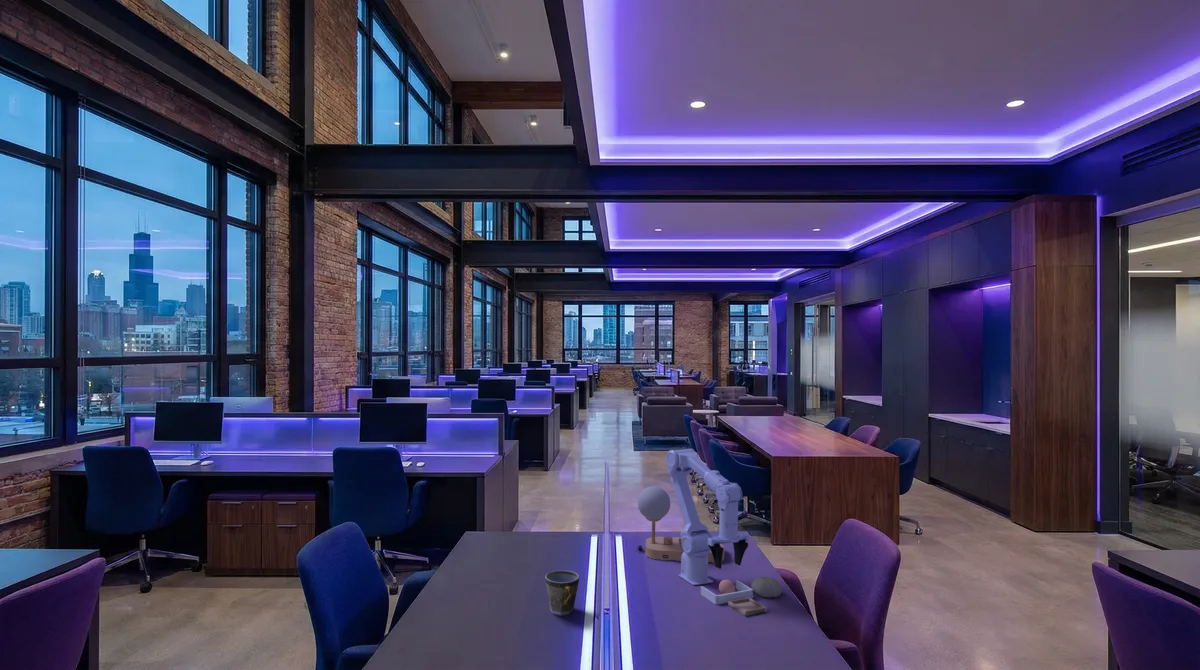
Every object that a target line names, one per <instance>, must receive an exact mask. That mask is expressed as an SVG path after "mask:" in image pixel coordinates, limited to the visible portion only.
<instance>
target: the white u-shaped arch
mask: <svg viewBox="0 0 1200 670" xmlns="http://www.w3.org/2000/svg"><path fill="white" fill-rule="evenodd" d="M735 590H737V591H735V592H733V593H727V594H715V593H714V592H712V591H711V590H710V589H708V588H706V587H705V586H703V585H702V586H700V595H701V596H702V597H704V598H705V599H707V600H708V601H710V602H711V603H713V604H715V605H723V604H726V603H727V604H728V601H733V600H738V599H744V598H751V599H754V598H755V595H754V594H755V593H754V590H753V589H752V588H751V586H750V587H749V586H748V585H746V584H744V583H743V582H741V581H739V580H738V579H737V580H735Z"/></svg>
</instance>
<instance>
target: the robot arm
mask: <svg viewBox="0 0 1200 670" xmlns="http://www.w3.org/2000/svg"><path fill="white" fill-rule="evenodd" d="M664 461H665V464H666V468H667V471H668V474H669V475H668V476H669V477H670V481H671V484H672V485H671V486H672V488H673V491H674V494H675V497H676V500H677V501H676V502H677V503H678V507H679V510H680V514H681V518H682V521H683V523H684V527H683V529H682V531H680V535H679V536H680V538H681V539H682V548H683V550H684V552H683V554H682V557H681V561H680V573H678V577H680V579H681V578H682V580H684V581H686V582H688V583H689V584H690V585H692V586H700V585H706V584H712V583H714V580H713V579H711V578H709V563H708V554H710V550H711V552H712V555H713V558H714V562H715V563H714V566H715V568H718V569H722V566H723V565H722V564H723V563H722V562H723V561H722V554H723V550H724V551H725V547H724V548H722V547H721V545H720V544H723V545H725V544H730V543H732V545H733V551H734V552H733V553H734V554H733V555H734V556H733V557H734V564H736V565H737V566H741V564H742V561H743V557H744V555H745V553H746V550H747V549H748V547H749V542H748V541H749V540H750V539H749V534H747V533H738V531H739V529H738V527H739V502H740V501H741V500H742V497H743V491H742V488H741V486H740V485H739V484H738V483H737V482H730V481H729V480H728V479H726V478H725V477H724V476H723V475H722V474H721V473H720V471H719V470H714V469H713V470H711V469H710V468H709V467H708V466H707V464H705V463H704V461H702V459H700V458H699V454H698V452H696V450H695V449H693V448H688V449H686V448H685V449H671V450H669V451H667V454H666V456H665V459H664ZM692 470H693V471H694V472H695V473H696V474H698V475H699V476H700V477H702V478H703V483H704V485H706V486H707V487H708V488H709V490H711V491H712V492H713V493H714V494H715V497H716V500H717V505H718V508H719V523H718V525H719V526H718V527H719V530H718V532H719V533H718V535H715V536H712V534H711V532H710V531H709V528H708V526H706V525H705V524H704V523H702V522H701V520H700V518H699V517H700V516H699V514H698V512H697V509H696V508H697V507H696V505H695V502H694V498H693V495H692V491H691V489H690V486H689V481H688V479H687V477H688V475H690V474H691V473H692Z"/></svg>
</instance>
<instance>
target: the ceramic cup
mask: <svg viewBox="0 0 1200 670" xmlns="http://www.w3.org/2000/svg"><path fill="white" fill-rule="evenodd" d="M544 577H545V585H546V586H545V587H546V591H547V597H548V606H549V610H550V611H551V613H552V614H553V615H555V616H568V615H570V614H571V613H573V611H574V607H575V602H576V598H577V593H578V589H579V582H580V575H579V574H578V573H577V572H576V571H572V570H567V569H565V570H564V569H559V570H553V571H549V572H548V573H546V574H545V576H544Z"/></svg>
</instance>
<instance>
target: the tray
mask: <svg viewBox="0 0 1200 670" xmlns="http://www.w3.org/2000/svg"><path fill="white" fill-rule="evenodd" d="M727 607H730V608H732V609H733V610H735V611H736V612H737V613H739V614H741V615H742V616H744V617H748V616H752V615H757V614H762V613H763V614H764V613H767V607H766V606H765V605H763V604H761V603H760V602H757V601H756V600H754V598H744V599H738V600H733V601H728V603H727Z"/></svg>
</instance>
